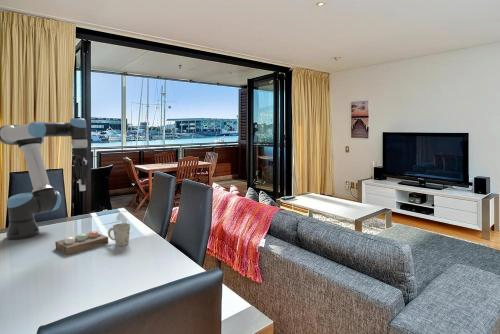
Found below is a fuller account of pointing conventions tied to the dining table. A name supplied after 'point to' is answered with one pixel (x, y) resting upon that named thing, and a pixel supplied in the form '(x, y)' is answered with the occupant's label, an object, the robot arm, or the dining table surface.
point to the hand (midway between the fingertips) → (82, 190)
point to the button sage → (81, 237)
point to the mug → (120, 233)
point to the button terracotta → (93, 234)
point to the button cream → (69, 240)
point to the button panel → (81, 244)
